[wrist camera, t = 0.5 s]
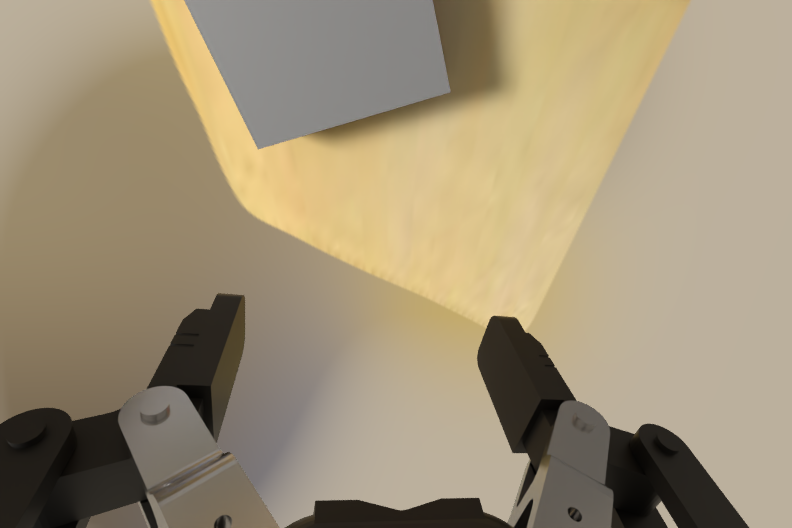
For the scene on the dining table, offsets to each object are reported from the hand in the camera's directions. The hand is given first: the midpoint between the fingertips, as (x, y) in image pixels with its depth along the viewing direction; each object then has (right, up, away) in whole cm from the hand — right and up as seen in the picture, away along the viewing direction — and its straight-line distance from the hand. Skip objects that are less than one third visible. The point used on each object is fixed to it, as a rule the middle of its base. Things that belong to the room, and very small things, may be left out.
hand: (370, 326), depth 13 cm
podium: (-4, +20, +15) cm, 25 cm away
